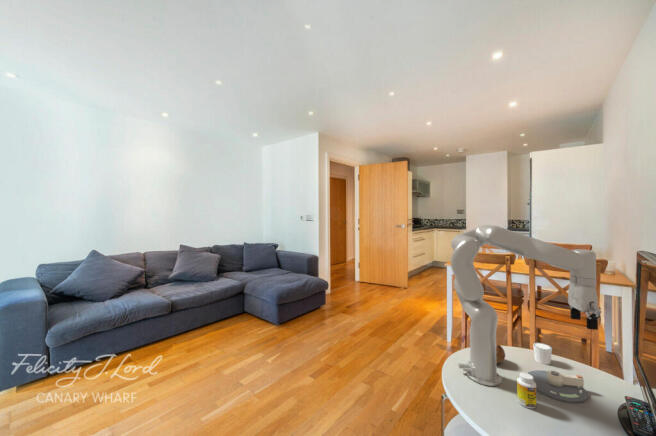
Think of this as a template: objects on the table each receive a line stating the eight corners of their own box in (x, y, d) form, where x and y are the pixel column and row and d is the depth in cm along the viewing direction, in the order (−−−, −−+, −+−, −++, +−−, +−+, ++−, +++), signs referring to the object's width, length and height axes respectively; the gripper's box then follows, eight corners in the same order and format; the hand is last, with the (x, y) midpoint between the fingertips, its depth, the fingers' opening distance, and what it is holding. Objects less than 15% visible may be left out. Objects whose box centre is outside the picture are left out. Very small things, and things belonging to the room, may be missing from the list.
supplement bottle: (528, 410, 91) (527, 381, 91) (513, 400, 97) (513, 372, 97) (540, 407, 92) (540, 379, 92) (525, 397, 98) (525, 370, 98)
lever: (551, 386, 102) (551, 375, 102) (544, 378, 106) (544, 368, 106) (586, 390, 99) (586, 379, 99) (577, 382, 103) (577, 372, 103)
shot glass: (556, 365, 117) (555, 350, 117) (538, 364, 119) (538, 349, 119) (546, 357, 124) (546, 343, 124) (530, 356, 125) (529, 341, 125)
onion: (502, 371, 119) (512, 356, 115) (480, 364, 121) (489, 349, 117) (496, 354, 127) (505, 339, 123) (475, 347, 129) (484, 333, 125)
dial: (540, 398, 97) (540, 394, 97) (518, 370, 114) (518, 367, 114) (600, 406, 92) (600, 402, 92) (568, 376, 110) (567, 372, 110)
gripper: (558, 275, 113) (559, 315, 113) (586, 286, 97) (586, 332, 97) (580, 276, 111) (580, 316, 111) (611, 287, 95) (612, 334, 95)
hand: (583, 323), depth 104 cm, fingers open, 9 cm apart
